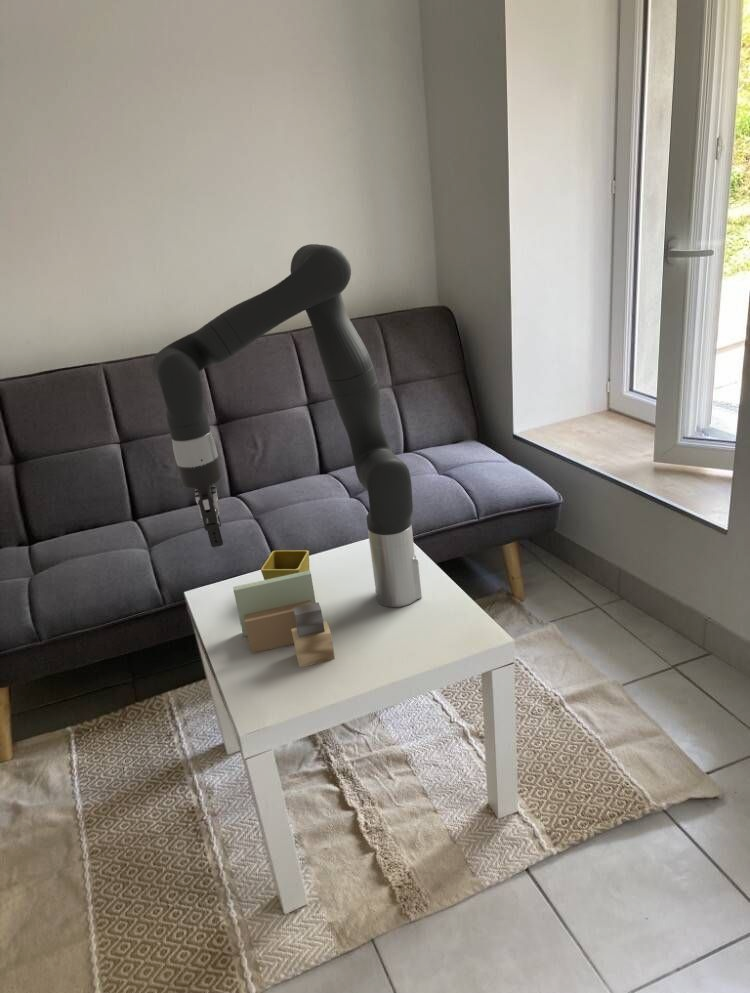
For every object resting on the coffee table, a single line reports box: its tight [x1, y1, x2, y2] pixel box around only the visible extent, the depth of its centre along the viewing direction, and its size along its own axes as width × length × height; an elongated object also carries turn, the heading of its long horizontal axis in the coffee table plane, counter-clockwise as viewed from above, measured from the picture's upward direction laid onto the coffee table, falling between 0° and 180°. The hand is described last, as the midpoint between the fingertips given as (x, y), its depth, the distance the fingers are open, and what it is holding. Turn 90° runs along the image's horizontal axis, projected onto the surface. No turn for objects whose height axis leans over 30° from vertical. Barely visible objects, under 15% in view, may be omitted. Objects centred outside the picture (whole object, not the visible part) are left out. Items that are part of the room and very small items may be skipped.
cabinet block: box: [291, 601, 336, 668], centre depth 152 cm, size 7×5×11 cm, turn 104°
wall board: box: [232, 569, 317, 654], centre depth 161 cm, size 16×9×11 cm, turn 104°
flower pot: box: [260, 549, 310, 580], centre depth 176 cm, size 9×9×9 cm
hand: (216, 536), depth 150 cm, fingers open, 8 cm apart
